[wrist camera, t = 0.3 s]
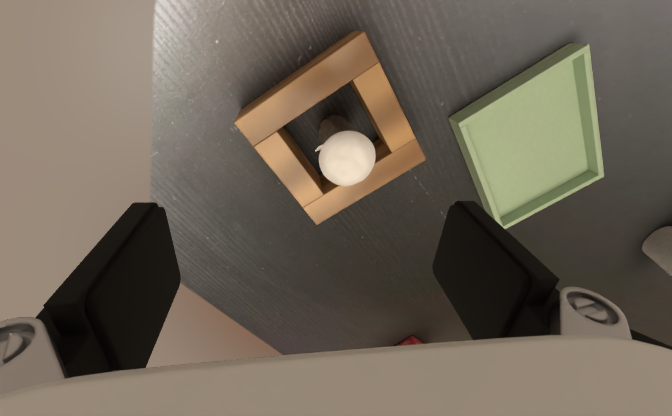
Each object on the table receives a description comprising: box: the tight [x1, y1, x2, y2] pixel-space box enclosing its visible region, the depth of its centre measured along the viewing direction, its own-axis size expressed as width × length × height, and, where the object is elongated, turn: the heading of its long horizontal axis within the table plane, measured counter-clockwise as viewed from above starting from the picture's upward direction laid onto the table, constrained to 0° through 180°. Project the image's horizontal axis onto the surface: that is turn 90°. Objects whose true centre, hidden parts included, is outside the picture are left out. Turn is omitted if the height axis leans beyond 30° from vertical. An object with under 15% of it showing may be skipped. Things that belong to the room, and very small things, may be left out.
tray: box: [448, 43, 604, 229], centre depth 34 cm, size 16×13×2 cm
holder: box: [234, 31, 426, 225], centre depth 29 cm, size 12×12×4 cm
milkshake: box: [315, 115, 376, 186], centre depth 27 cm, size 4×5×10 cm
